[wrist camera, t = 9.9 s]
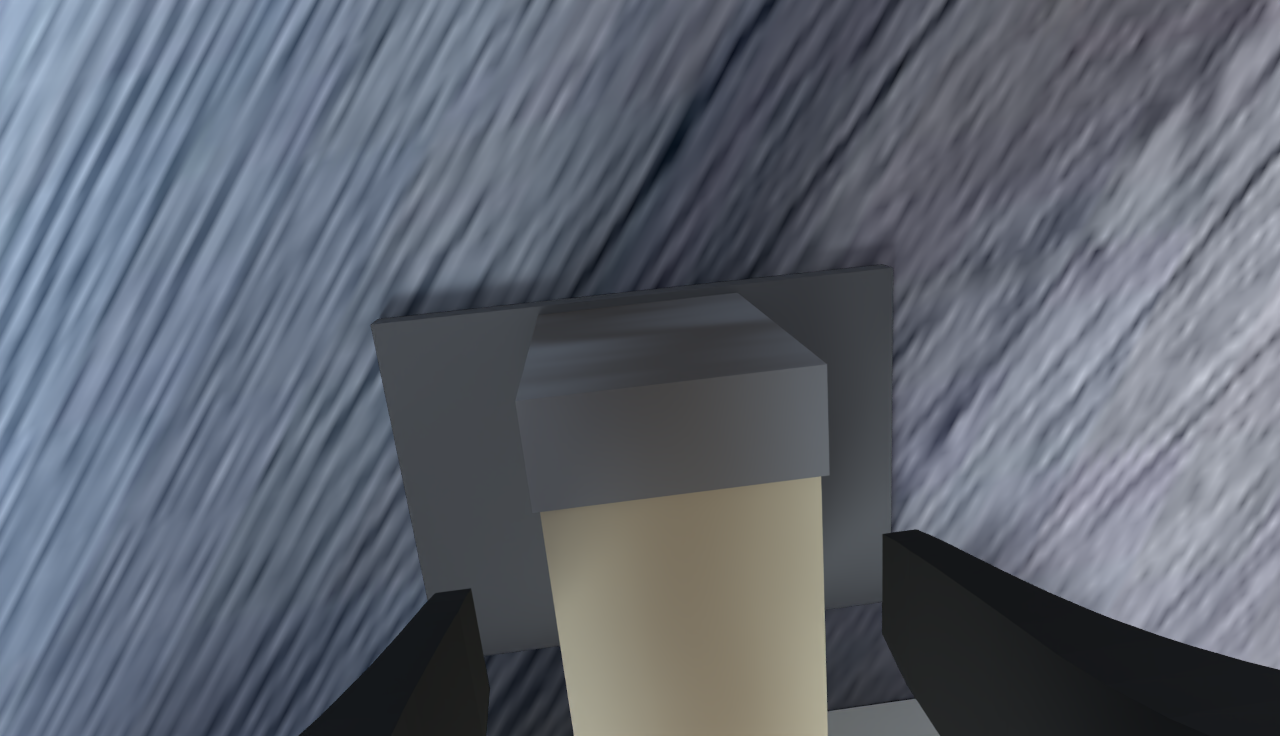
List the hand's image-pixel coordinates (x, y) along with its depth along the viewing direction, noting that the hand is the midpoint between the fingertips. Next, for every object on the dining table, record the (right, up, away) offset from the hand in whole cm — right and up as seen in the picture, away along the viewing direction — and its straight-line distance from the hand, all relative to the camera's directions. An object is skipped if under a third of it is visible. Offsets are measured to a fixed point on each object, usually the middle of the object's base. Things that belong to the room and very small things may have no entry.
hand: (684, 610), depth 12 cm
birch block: (0, +1, +5) cm, 5 cm away
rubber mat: (0, +2, +6) cm, 6 cm away
